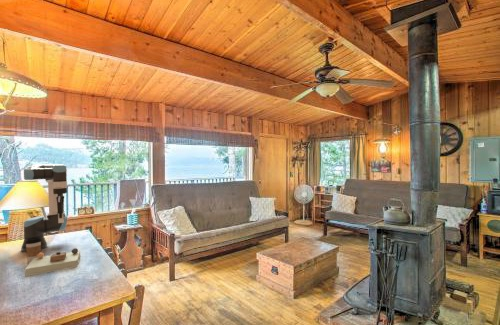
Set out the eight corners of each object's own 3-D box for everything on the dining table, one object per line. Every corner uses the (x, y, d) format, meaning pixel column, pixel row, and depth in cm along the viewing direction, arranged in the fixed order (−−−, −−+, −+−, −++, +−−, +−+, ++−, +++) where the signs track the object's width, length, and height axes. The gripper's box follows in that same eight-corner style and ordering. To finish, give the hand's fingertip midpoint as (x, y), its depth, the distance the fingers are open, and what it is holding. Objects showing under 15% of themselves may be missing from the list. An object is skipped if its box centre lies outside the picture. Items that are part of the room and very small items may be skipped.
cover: (52, 258, 165) (52, 251, 165) (66, 255, 168) (65, 249, 168) (50, 261, 158) (50, 255, 158) (64, 259, 162) (64, 253, 162)
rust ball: (37, 257, 166) (37, 252, 166) (44, 256, 168) (44, 251, 168) (36, 259, 163) (36, 254, 163) (43, 258, 165) (43, 253, 165)
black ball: (72, 253, 173) (71, 248, 173) (78, 252, 175) (78, 247, 175) (71, 254, 170) (71, 249, 170) (77, 253, 172) (77, 248, 172)
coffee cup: (32, 263, 168) (32, 240, 168) (22, 262, 169) (21, 239, 169) (45, 258, 176) (44, 236, 176) (35, 257, 178) (34, 236, 178)
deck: (33, 264, 166) (33, 257, 166) (80, 256, 178) (80, 250, 178) (25, 276, 149) (24, 269, 149) (77, 266, 161) (77, 260, 161)
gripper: (55, 187, 179) (55, 221, 179) (51, 189, 167) (52, 225, 167) (68, 186, 182) (69, 220, 182) (65, 188, 171) (66, 223, 171)
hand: (61, 222), depth 175 cm, fingers closed
